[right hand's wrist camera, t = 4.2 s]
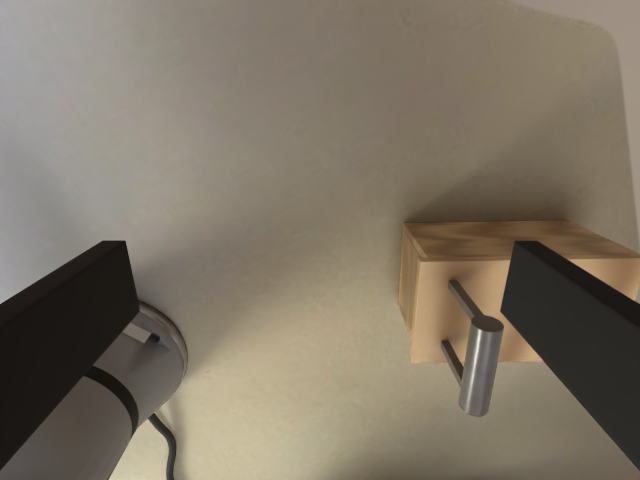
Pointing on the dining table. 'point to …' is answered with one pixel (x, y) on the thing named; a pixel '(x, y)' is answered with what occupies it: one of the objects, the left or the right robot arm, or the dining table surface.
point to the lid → (485, 316)
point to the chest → (488, 245)
